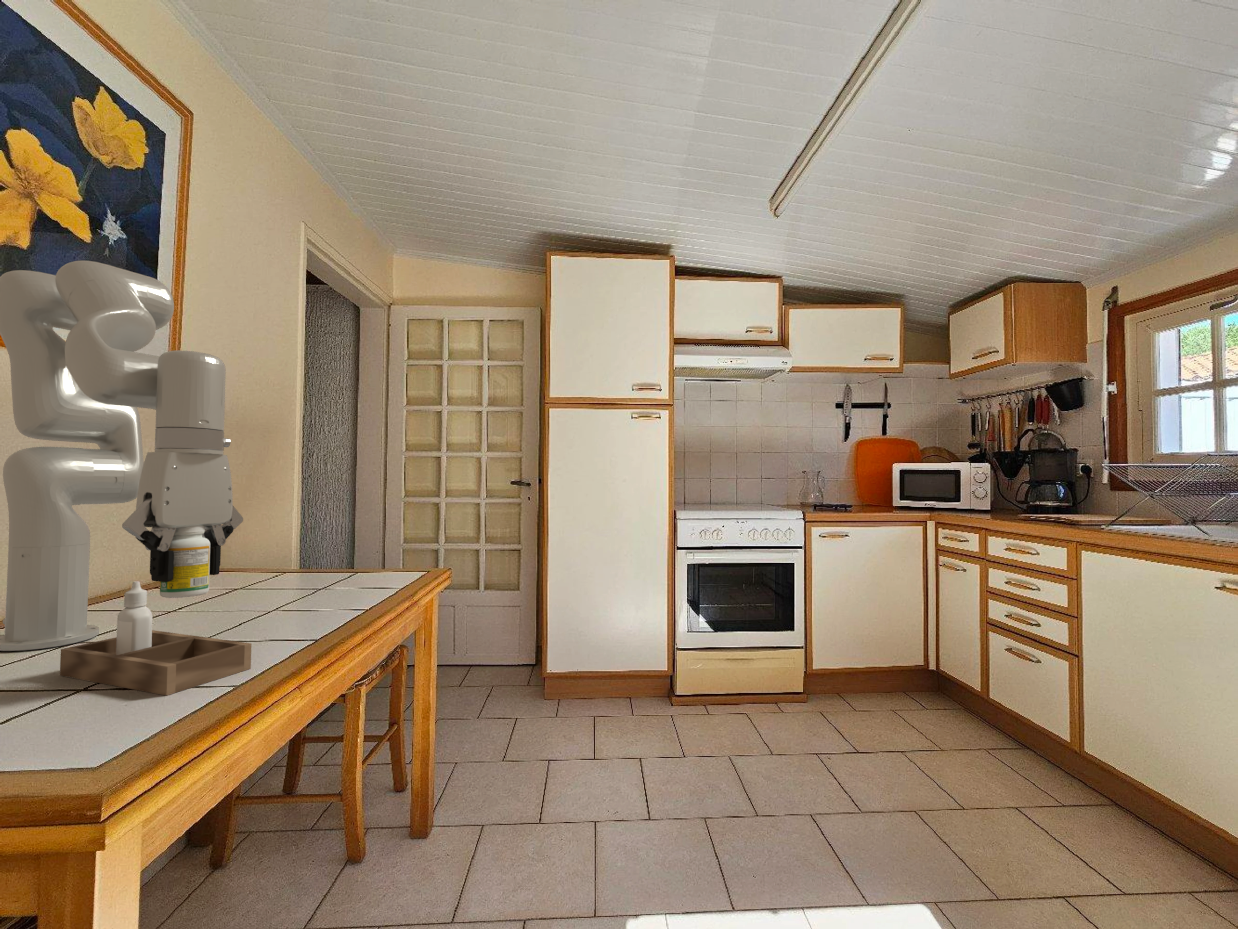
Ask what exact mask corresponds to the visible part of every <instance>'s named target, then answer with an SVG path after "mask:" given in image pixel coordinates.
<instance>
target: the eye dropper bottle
mask: <svg viewBox="0 0 1238 929" xmlns="http://www.w3.org/2000/svg"><path fill="white" fill-rule="evenodd" d="M123 596H124V599H123V600H124V601H123V603H124V604H123V607H124V608H123V609H122V610H120V611H119V612H118V614H117V621H116V637H117V639H116V655H120V654H124V653H128V652H132V651H136V650H141V649H145V648H149V647H152V630H153V613H152V610H151V609H150V608H149V607H148V606H146V605H147V602H148V590H146V589H143V588H142V587H141V583H140V581H138V580H137V581H132V584H131V588H130V589H129V590H127V591H126V592H124V595H123Z"/></svg>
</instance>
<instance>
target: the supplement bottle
mask: <svg viewBox="0 0 1238 929" xmlns="http://www.w3.org/2000/svg"><path fill="white" fill-rule="evenodd" d="M204 532H205V526H191V527H182V528H176V530H175V533H174V536H173V539H172V541H171V544H170V547H169V550H171V551H173V552H174V567H173V580H172V581H170V582H159V595H160V597H162V598H166V599H178V598H179V599H181V598H191V597H192V598H193V597H197V596H202V595H205V594H207V593H208V592H210V575H209V572H210V541H209V540H208V539H207V538H203V537H202V534H203V533H204Z"/></svg>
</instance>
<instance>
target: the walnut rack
mask: <svg viewBox="0 0 1238 929" xmlns="http://www.w3.org/2000/svg"><path fill="white" fill-rule="evenodd" d="M116 639H117V636H116V637H112V638H108V639H107V638H106V639H102V640H98V641H93V642H88V643H87V642H86V643H84V644H80V645H73V646H70V647H65V648H64V647H63V648H61V649H60V660H59V662H60V663H59V676H61V677H65V678H71V679H76V680H82V681H87V682H93V683H98V684H104V685H109V686H112V687H113V686H114V687H119V688H125V689H130V690H135V691H139V692H140V691H142V692H146V693H150V694H156V695H161V696H169V695H172V694H175V693H179V692H182V691H185V690H188V689H191V688H195V687H197V686H201V685H204V684H207V683H211V682H214V681H217V680H219V679H223V678H226V677H229V676H233V675H236V674H239V673H242V672H245V671H248V670H251V668H252V643H251V642H244V641H236V640H228V639H221V638H213V637H206V636H200V635H199V636H198V635H192V634H186V633H185V634H184V633H177V632H169V631H168V632H167V631H160V630H154V629H152V647H149V648H145V649H141V650H136V651H132V652H128V653H124V654H120V655H116Z"/></svg>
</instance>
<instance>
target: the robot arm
mask: <svg viewBox="0 0 1238 929" xmlns="http://www.w3.org/2000/svg"><path fill="white" fill-rule="evenodd" d="M174 302H175V301H174V298H173V295H172V293H171V290H169V288H168V287H167V285H165V284H164V283H163V282H162V281H160V280H158V279H157V278H154V277H151V276H149V275H148V276H147V275H145V274H141V273H138V272H133V271H130V270H128V269H124V268H121V267H116V266H114V265H110V264H106V263H101V262H99V261H94V260H93V261H91V260H75V261H70V262H68V263H66V264H64V265H63V266H61V267H60V268H59V269H58V270H57V272H56V274H51V273H46V272H41V271H33V270H22V269H19V270H17V269H16V270H11V271H7V272H4V273H2V274H1V275H0V336H1V338H2V341H3V343H4V346H5V348H6V352H7V353H8V357H9V363H10V379H11V380H10V381H11V385H10V386H11V398H12V412H13V421H14V424H15V427H16V429H17V430H18V432H19V433H20V434H21V435H22V436H25V437H27V438H31V439H35V440H40V441H41V440H42V441H53V442H69V443H84V444H85V443H86V444H96V445H98V447H99V448H97V449H96V448H82V447H66V446H63V447H62V446H33V447H32V446H31V447H28V448H23V449H20V450H17V451H15V452H13V453H12V454H11V455H9V456H8V457H7V458H6V460H5V462H4V465H3V468H2V480H3V481H2V482H3V485H4V491H5V496H6V497H5V498H6V501H7V502H6V503H7V509H8V549H7V550H8V551H7V552H8V553H7V574H6V596H5V597H6V598H5V614H4V615H5V616H4V618H3V620H2V624H3V625H4V634H1V635H0V651H1V652H18V651H19V652H21V651H33V650H40V649H48V648H55V647H56V648H57V647H60V646H67V645H71V644H76V643H80V642H84V641H86V640H87V641H88V640H90V639H93V638H96V637H97V636H98V635H99V634H100V628H99V627H98V626H97V625H94V624H93V625H92V624H88V610H89V609H88V607H89V606H88V603H89V602H88V601H89V581H90V579H89V578H90V558H91V557H90V553H91V552H90V549H91V532H90V528H89V526H88V523H87V522H86V521H85V520H84V519H83V517H82V516H80V515H79V513H77V511H76V510H75V509H74V508H73V506H80V505H112V504H123V503H124V504H125V503H129V502H132V501H133V500H135V499H136V503H135V504H136V506H135V510H134V511H133V512H132V513H131V514H130V515H129V516H128V517H127V518H126V519H125V520H124V522H122V525H121V527H122V529H123V530H125V531H126V532H127V533H128V534H130V535H132V536H133V537H135V539H137V541H139V542H140V543H141V544H142V545H143V546H144V548H145V550H147V551H149V552H150V555H149V556H150V557H149V574H150V575H151V576H150V578H151V579H150V580H151V581H152V582H159V583H160V582H170V581H172V580H173V567H174V552H173V551H171V550H169V547H170V544H171V541H172V539H173V536H174V533H175V530H176V528H182V527H191V526H205V532H204V533H203V534H202V537H203V538H207V539H208V540H209V541H210V572H209V576H216V575H217V576H218V575H219V574H220V567H221V558H222V557H221V554H222V552H221V551H222V550H221V549H222V547H221V546H224V545H226V542H227V541H226V540H227V539H228V538H229V537H230V536H231V535H232V534H233V533H234V530H235V529H236V528H238V527H239V526H240V525H241V524H242V523H243V521H244V517H243V515H241V513H240V512H239V511H238V509H236V507H235V506H234V505H233V504H234V503H233V498H234V497H233V483H232V482H233V481H232V474H231V468H230V462H229V458H228V455H227V454H224V451H225V450H224V449H225V448H229V447H230V446H231V439H230V438H228V437H225V432H224V431H225V409H226V408H225V407H226V406H225V405H226V404H225V403H226V397H225V396H226V377H227V376H226V373H227V372H226V365H225V363H224V362H223V360H222V359H221V358H219V357H218V356H215V355H213V354H209V353H205V352H200V351H193V350H181V349H180V350H170V351H165V352H163V353H162V354H161V355H153V354H149V353H148V354H147V353H142V352H137V351H139V350H141V349H143V348H145V347H147V346H148V345H149V344H150V343H151V342H152V341H153V339H154V338H155V335H156V331H157V330H159V329H162V328H163V327H166V325H167V324H168V323H169V322H170V321H171V319H172V317H173V315H174V311H175V310H174V309H175V304H174ZM53 328H57V329H61V330H67V331H68V335H67V336H66V339H63V337H61V336H60V335H59V334H58V333H57V332H55V331H54V329H53ZM138 408H141V409H150V410H154V411H155V429H154V430H155V431H154V432H155V434H154V451H153V452H152V451H151V452H147V453H146V455H145V459H144V450H143V449H144V448H143V438H142V426H141V417H140V412H139V410H138ZM147 528H151V529H150V530H149V529H147Z"/></svg>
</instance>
